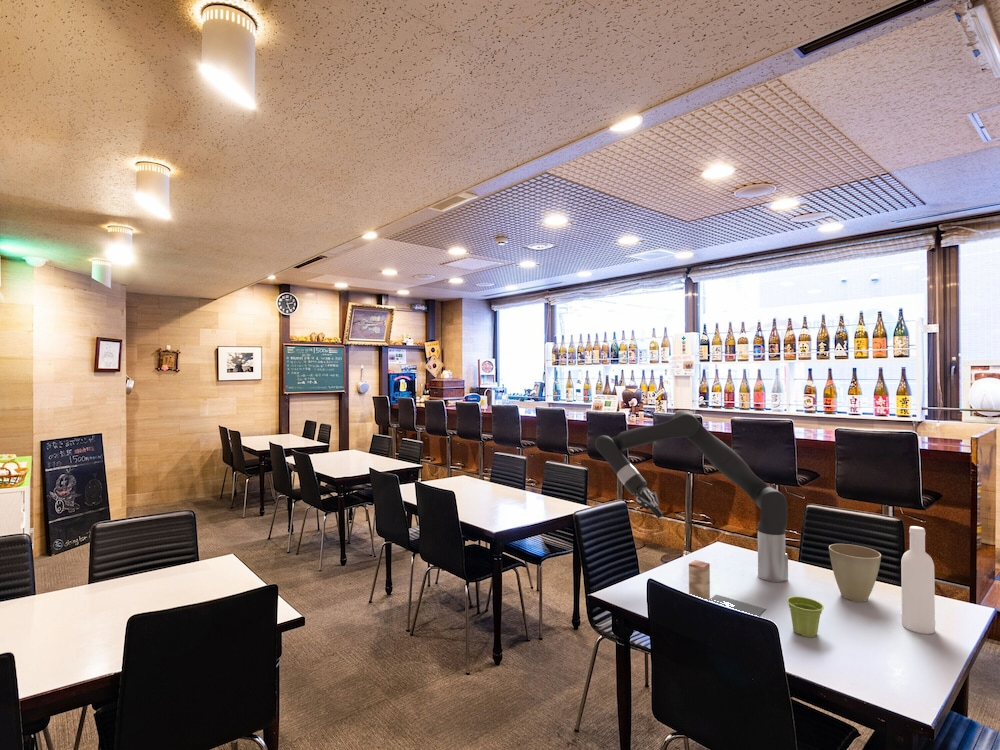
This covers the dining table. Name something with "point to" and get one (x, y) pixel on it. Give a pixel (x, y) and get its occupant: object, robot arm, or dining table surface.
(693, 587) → the oak block
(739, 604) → the slate mat
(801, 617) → the plant pot
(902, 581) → the bottle
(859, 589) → the plant pot
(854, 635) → the dining table surface
